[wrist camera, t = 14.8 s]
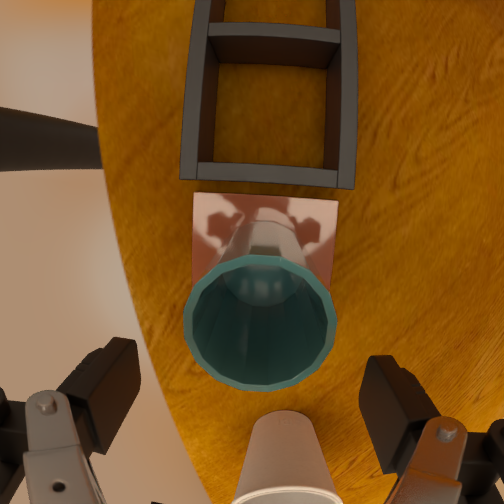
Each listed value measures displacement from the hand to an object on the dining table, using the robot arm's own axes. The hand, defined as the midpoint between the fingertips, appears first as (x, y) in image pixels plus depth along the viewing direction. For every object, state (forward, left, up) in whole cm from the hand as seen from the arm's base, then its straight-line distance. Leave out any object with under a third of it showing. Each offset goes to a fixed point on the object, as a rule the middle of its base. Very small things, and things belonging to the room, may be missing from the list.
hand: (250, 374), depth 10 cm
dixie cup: (+3, -16, -14) cm, 21 cm away
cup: (0, 0, -13) cm, 13 cm away
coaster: (0, 0, -13) cm, 13 cm away
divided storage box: (0, +15, -13) cm, 20 cm away
